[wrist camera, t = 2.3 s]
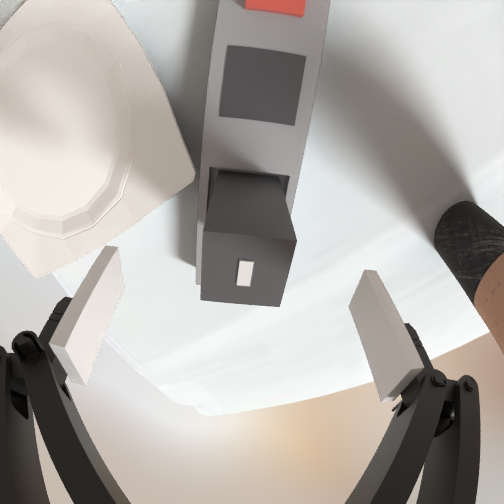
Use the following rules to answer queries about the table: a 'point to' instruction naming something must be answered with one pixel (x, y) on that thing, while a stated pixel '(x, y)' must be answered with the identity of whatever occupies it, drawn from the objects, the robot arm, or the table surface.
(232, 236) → the block
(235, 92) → the power strip
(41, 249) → the plate
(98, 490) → the robot arm
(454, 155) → the table surface
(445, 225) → the travel mug
